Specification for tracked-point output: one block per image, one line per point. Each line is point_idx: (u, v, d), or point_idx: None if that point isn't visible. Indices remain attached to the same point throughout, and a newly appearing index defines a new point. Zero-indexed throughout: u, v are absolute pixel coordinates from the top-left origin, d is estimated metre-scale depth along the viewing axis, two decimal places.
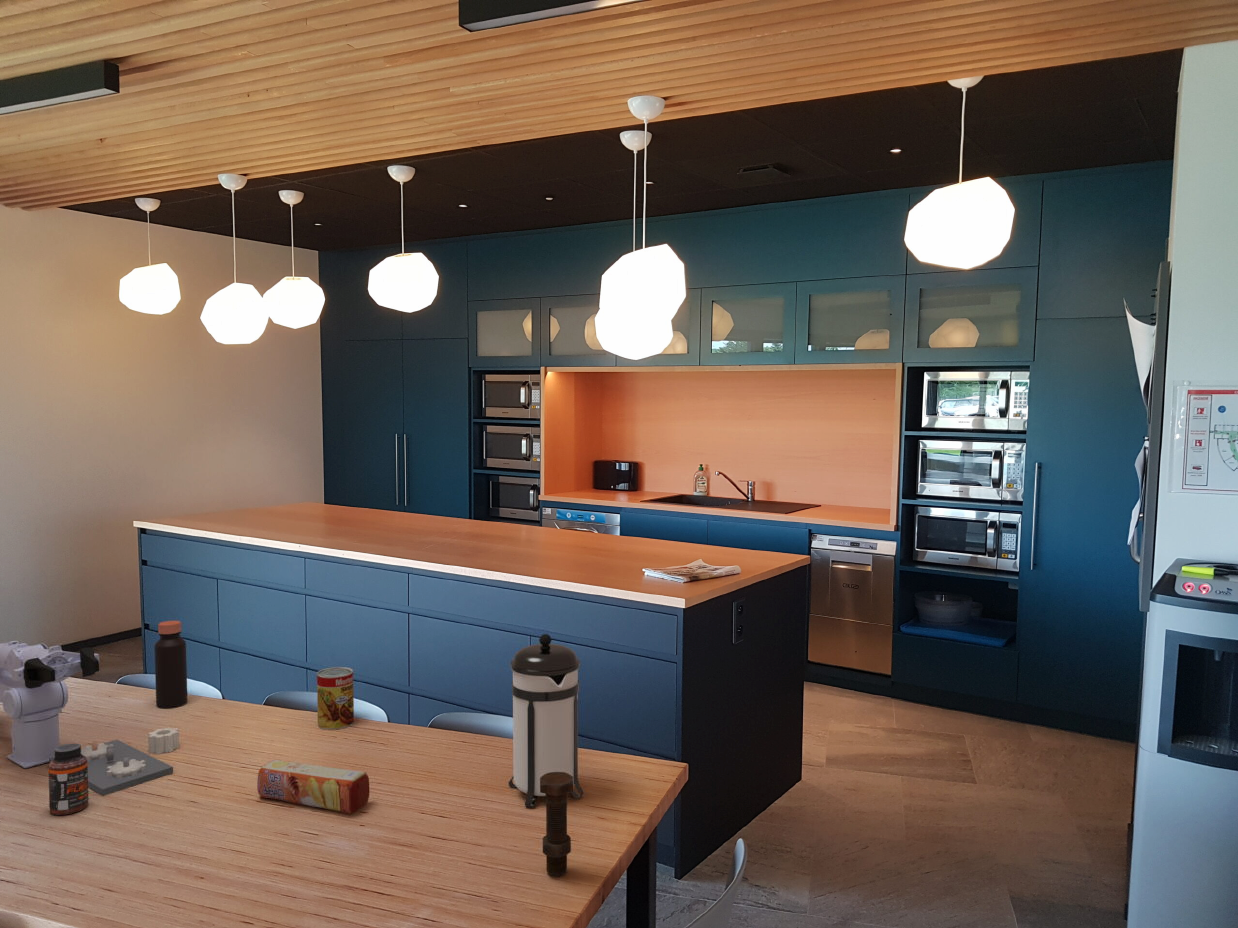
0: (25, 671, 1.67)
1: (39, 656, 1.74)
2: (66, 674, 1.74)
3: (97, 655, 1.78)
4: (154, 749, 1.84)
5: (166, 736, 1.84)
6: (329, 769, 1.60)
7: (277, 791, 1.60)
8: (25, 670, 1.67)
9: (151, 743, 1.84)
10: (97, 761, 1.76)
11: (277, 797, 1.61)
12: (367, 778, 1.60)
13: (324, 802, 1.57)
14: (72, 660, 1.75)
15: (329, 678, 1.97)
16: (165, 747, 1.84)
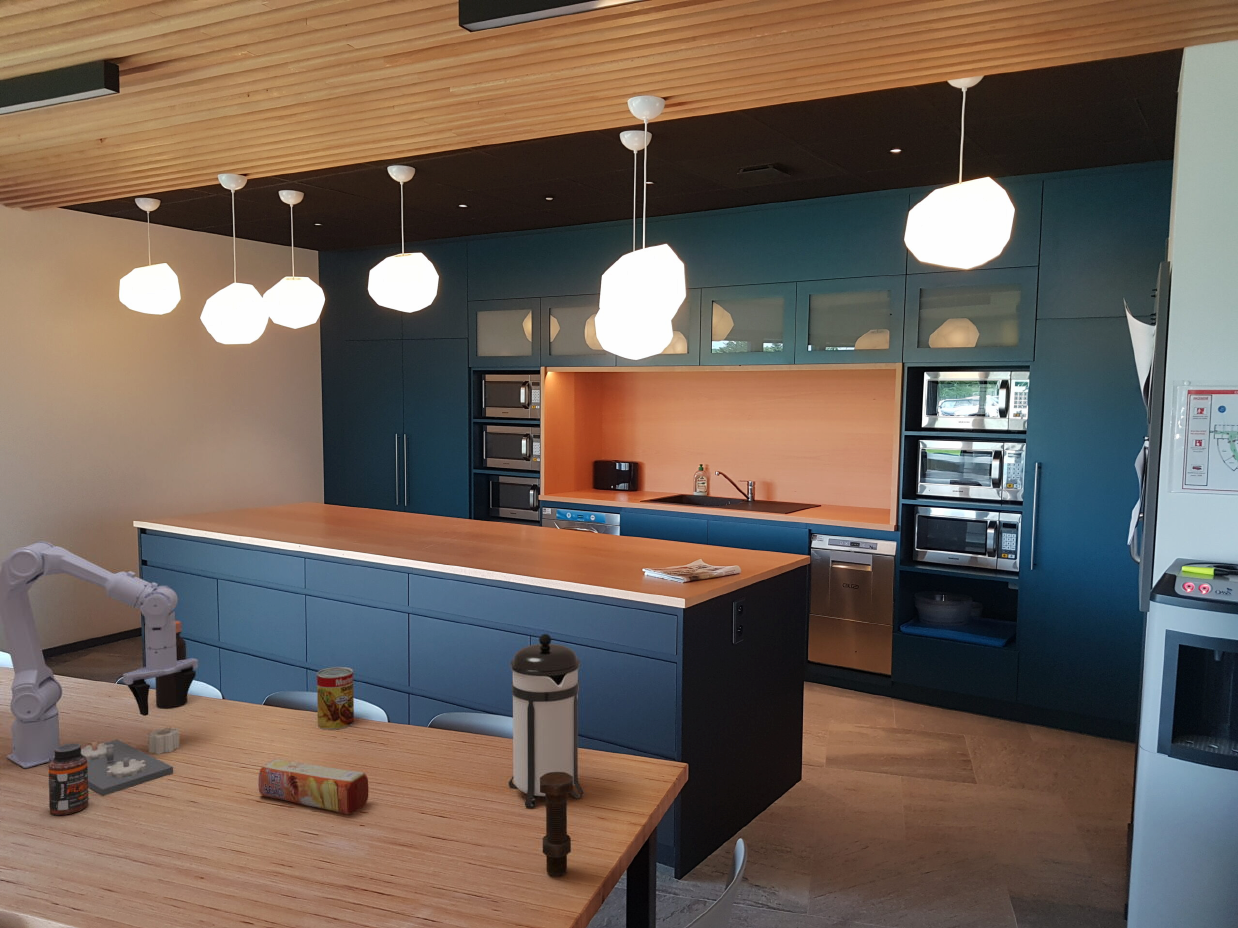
0: (133, 686, 1.80)
1: (157, 658, 1.82)
2: None
3: None
4: (154, 749, 1.84)
5: (166, 736, 1.84)
6: (328, 769, 1.60)
7: (278, 791, 1.60)
8: (133, 686, 1.80)
9: (151, 743, 1.84)
10: (97, 761, 1.76)
11: (277, 796, 1.61)
12: (366, 779, 1.59)
13: (322, 802, 1.57)
14: (175, 669, 1.87)
15: (329, 678, 1.97)
16: (165, 747, 1.84)
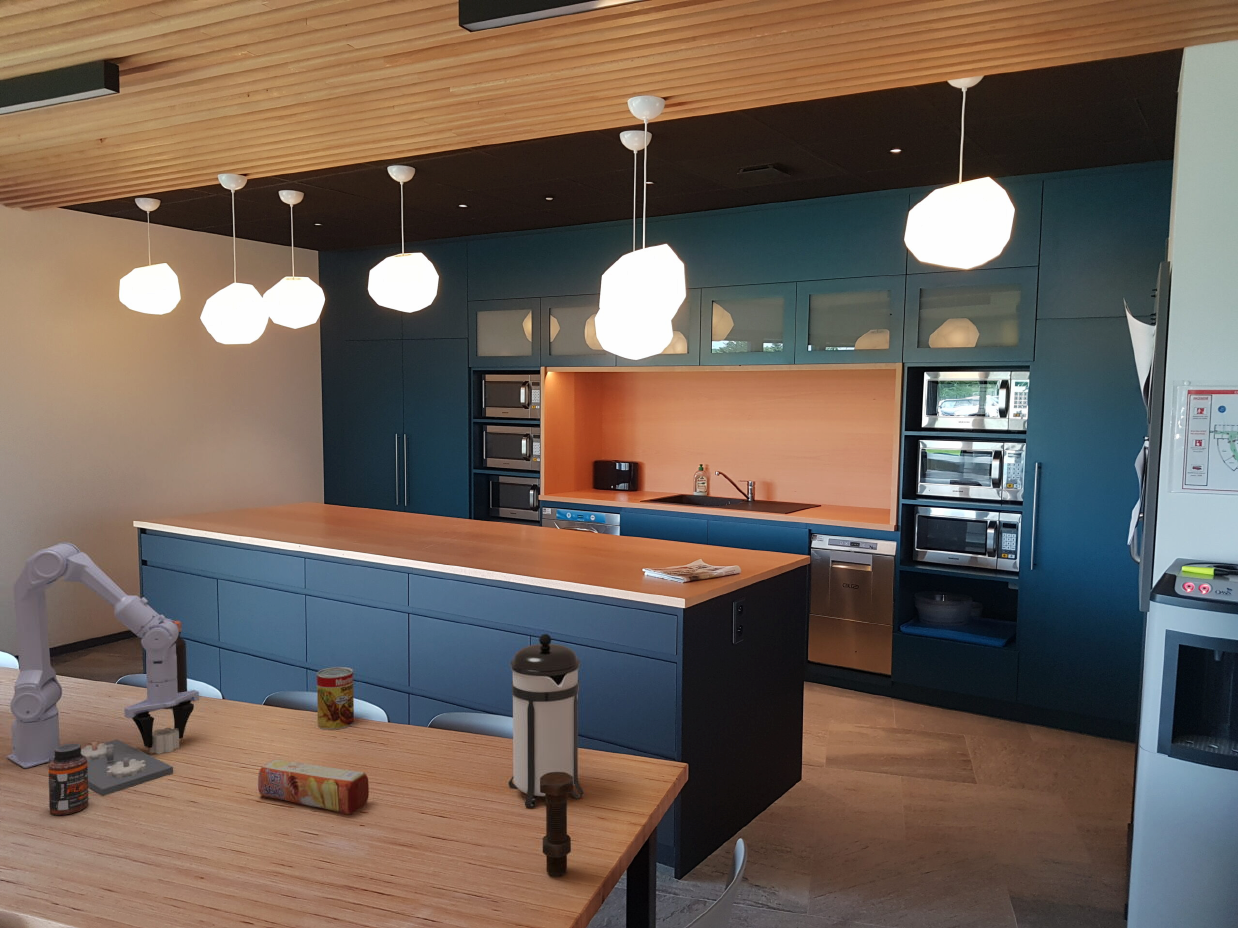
0: (137, 719, 1.81)
1: (158, 692, 1.83)
2: None
3: None
4: (154, 749, 1.84)
5: (166, 736, 1.84)
6: (329, 769, 1.60)
7: (277, 791, 1.60)
8: (138, 719, 1.81)
9: None
10: (97, 761, 1.76)
11: (277, 796, 1.61)
12: (366, 779, 1.59)
13: (323, 802, 1.57)
14: None
15: (329, 678, 1.97)
16: (165, 747, 1.84)
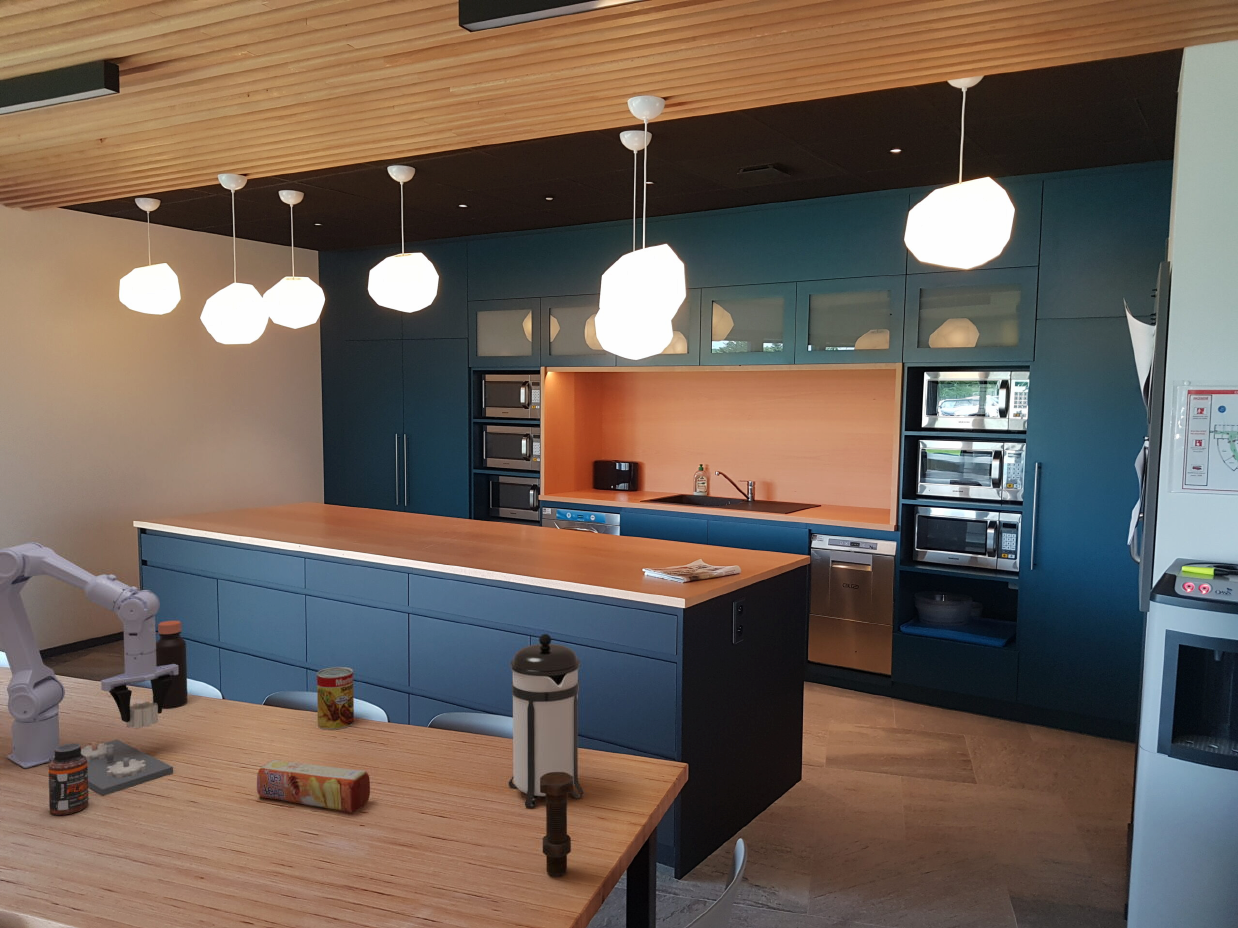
0: (114, 692, 1.76)
1: (136, 664, 1.78)
2: None
3: (176, 674, 1.86)
4: (132, 723, 1.79)
5: (145, 710, 1.80)
6: (329, 768, 1.60)
7: (277, 791, 1.60)
8: (115, 692, 1.76)
9: None
10: (97, 761, 1.76)
11: (277, 797, 1.61)
12: (368, 777, 1.60)
13: (325, 801, 1.57)
14: (155, 675, 1.83)
15: (329, 678, 1.97)
16: (143, 721, 1.80)
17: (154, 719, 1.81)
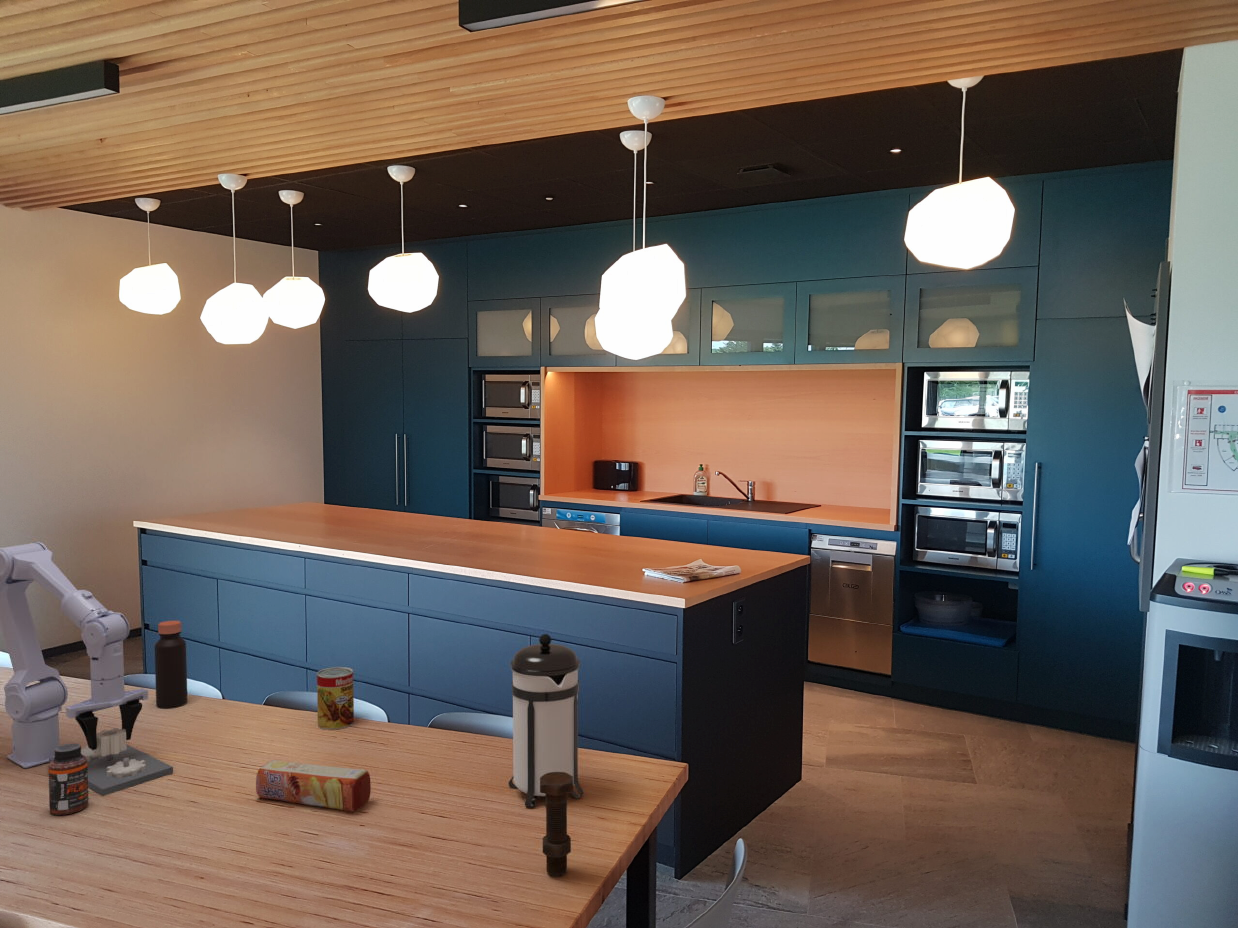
0: (80, 719, 1.70)
1: (102, 690, 1.72)
2: None
3: (146, 698, 1.80)
4: (99, 751, 1.73)
5: (112, 737, 1.73)
6: (330, 768, 1.61)
7: (277, 792, 1.60)
8: (80, 719, 1.70)
9: None
10: (97, 761, 1.76)
11: (277, 797, 1.61)
12: (368, 776, 1.60)
13: (326, 801, 1.57)
14: None
15: (329, 678, 1.97)
16: (111, 749, 1.74)
17: (122, 746, 1.75)
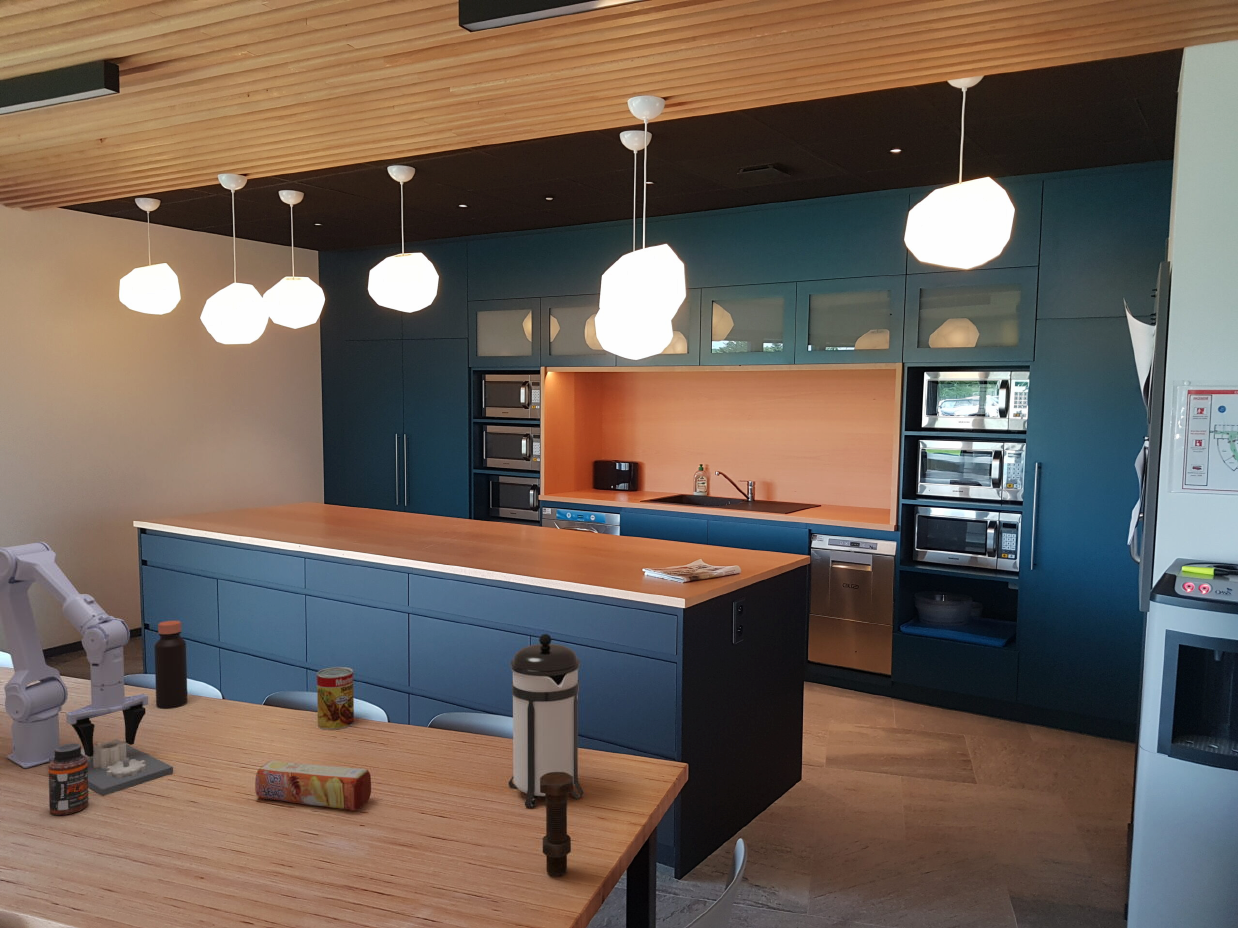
0: (76, 726, 1.70)
1: (103, 696, 1.72)
2: None
3: (146, 704, 1.80)
4: (99, 763, 1.73)
5: (112, 750, 1.74)
6: (330, 768, 1.61)
7: (277, 792, 1.60)
8: (77, 726, 1.70)
9: (96, 757, 1.73)
10: None
11: (277, 798, 1.60)
12: (369, 775, 1.61)
13: (327, 800, 1.57)
14: None
15: (329, 678, 1.97)
16: (111, 761, 1.74)
17: (122, 758, 1.75)
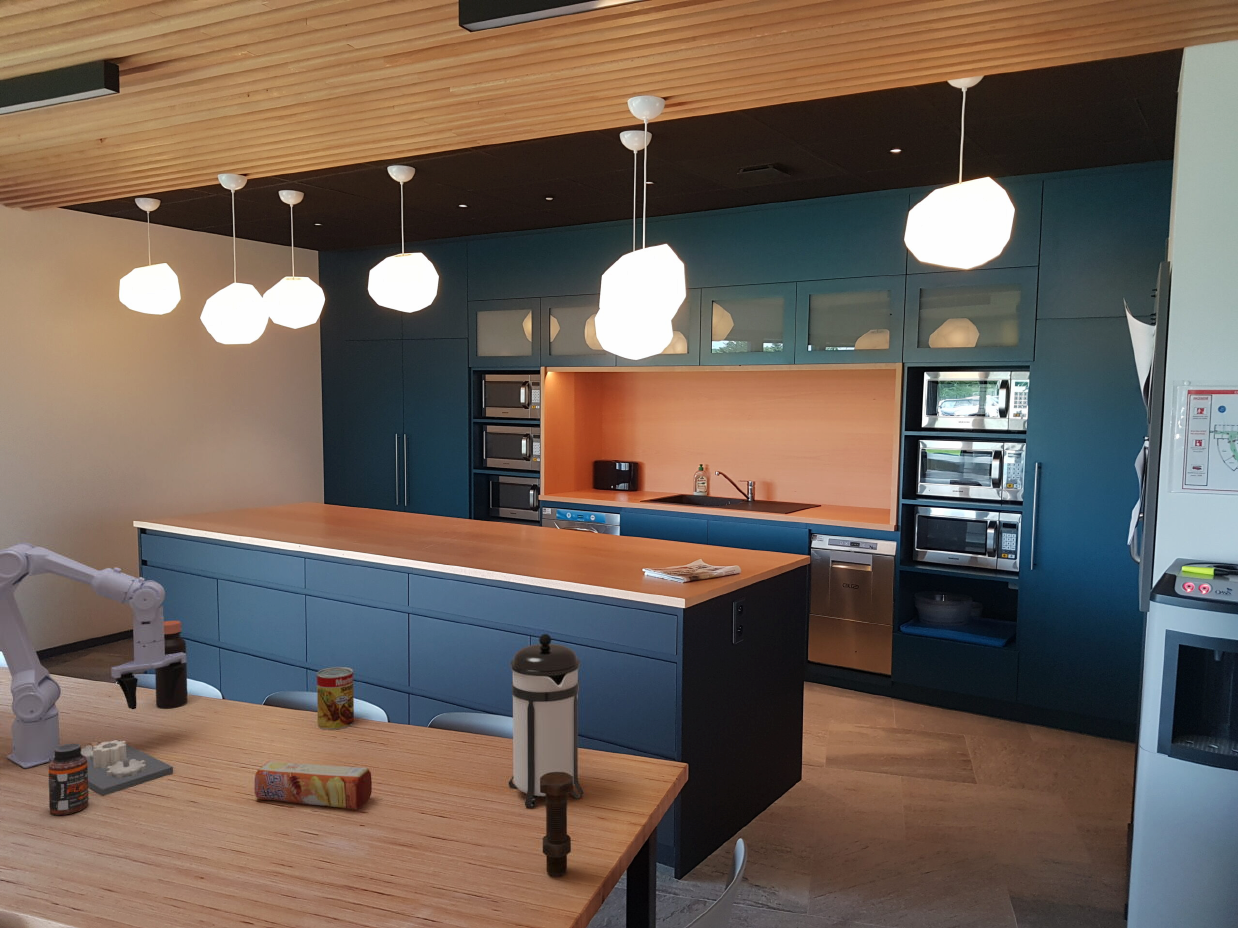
0: (121, 680, 1.81)
1: (145, 652, 1.83)
2: None
3: None
4: (99, 763, 1.73)
5: (112, 750, 1.74)
6: (330, 767, 1.61)
7: (277, 792, 1.60)
8: (121, 680, 1.81)
9: (96, 757, 1.73)
10: None
11: (276, 798, 1.60)
12: (370, 774, 1.61)
13: (328, 800, 1.58)
14: (163, 663, 1.88)
15: (329, 678, 1.97)
16: (111, 761, 1.74)
17: (122, 758, 1.75)
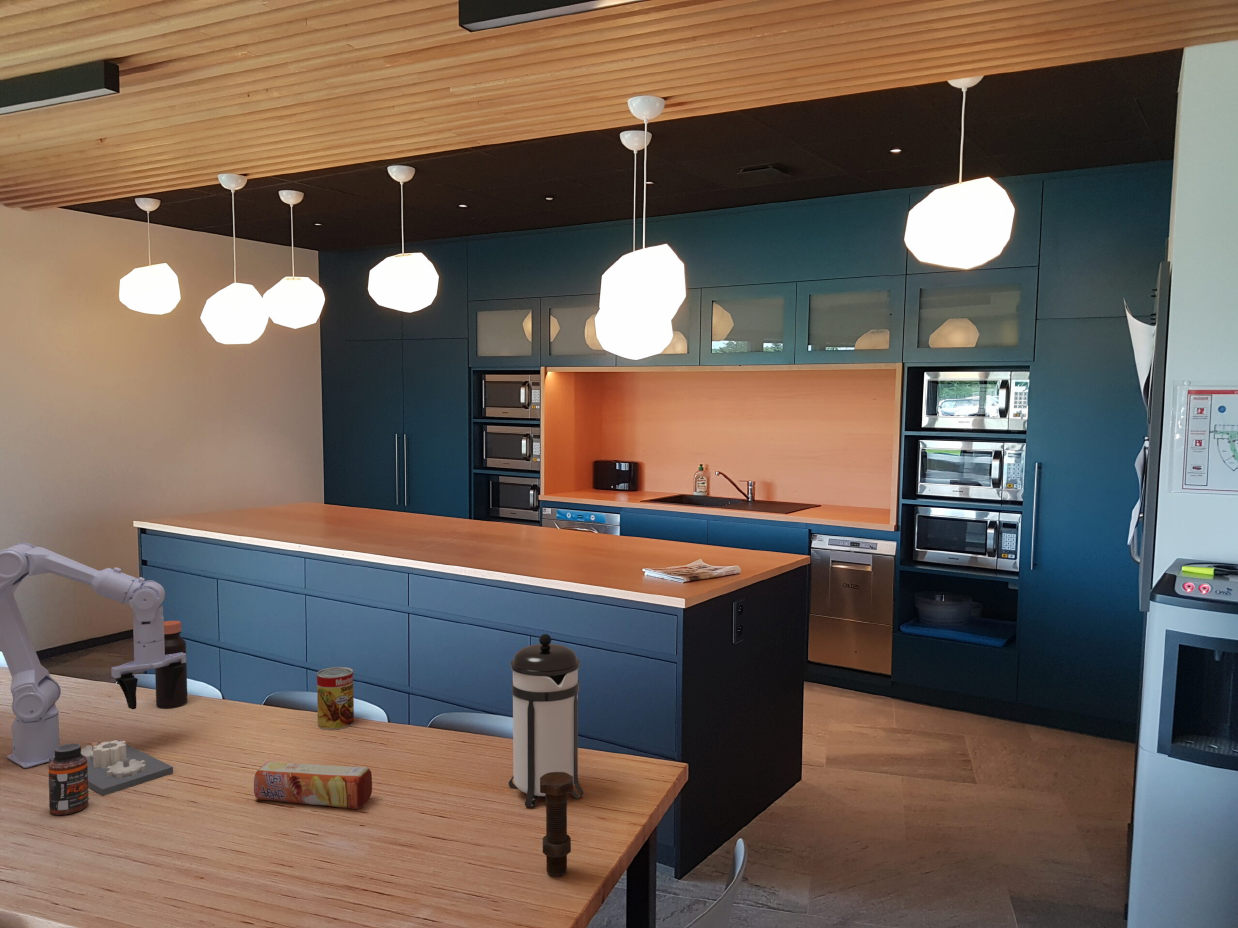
0: (121, 680, 1.81)
1: (145, 652, 1.83)
2: None
3: None
4: (99, 763, 1.73)
5: (112, 750, 1.74)
6: (331, 767, 1.61)
7: (277, 792, 1.60)
8: (121, 680, 1.81)
9: (96, 757, 1.73)
10: None
11: (276, 798, 1.60)
12: (370, 773, 1.62)
13: (329, 799, 1.58)
14: (163, 663, 1.88)
15: (329, 678, 1.97)
16: (111, 761, 1.74)
17: (122, 758, 1.75)
